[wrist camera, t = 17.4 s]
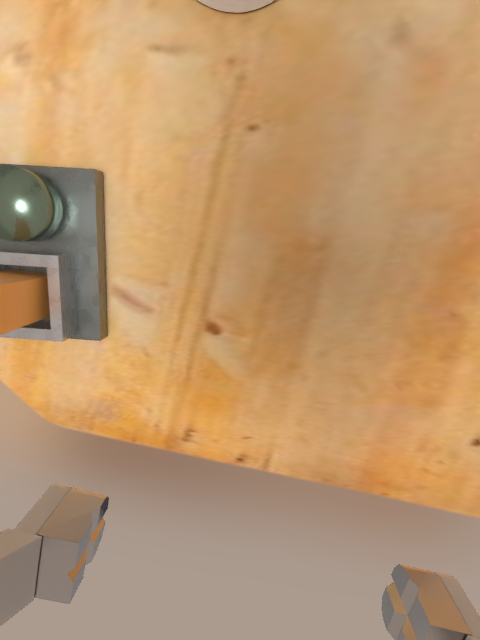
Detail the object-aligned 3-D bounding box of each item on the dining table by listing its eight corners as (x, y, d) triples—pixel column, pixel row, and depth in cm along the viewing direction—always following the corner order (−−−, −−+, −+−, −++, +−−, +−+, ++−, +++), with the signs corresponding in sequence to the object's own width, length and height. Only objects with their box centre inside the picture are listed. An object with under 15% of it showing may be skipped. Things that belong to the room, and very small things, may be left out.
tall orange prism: (15, 269, 38) (-67, 279, 28) (56, 274, 38) (-13, 287, 28) (16, 308, 39) (-64, 331, 29) (55, 314, 39) (-12, 339, 29)
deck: (-26, 165, 38) (-68, 154, 33) (103, 172, 37) (80, 163, 32) (-9, 327, 42) (-44, 339, 37) (107, 335, 41) (87, 348, 36)
